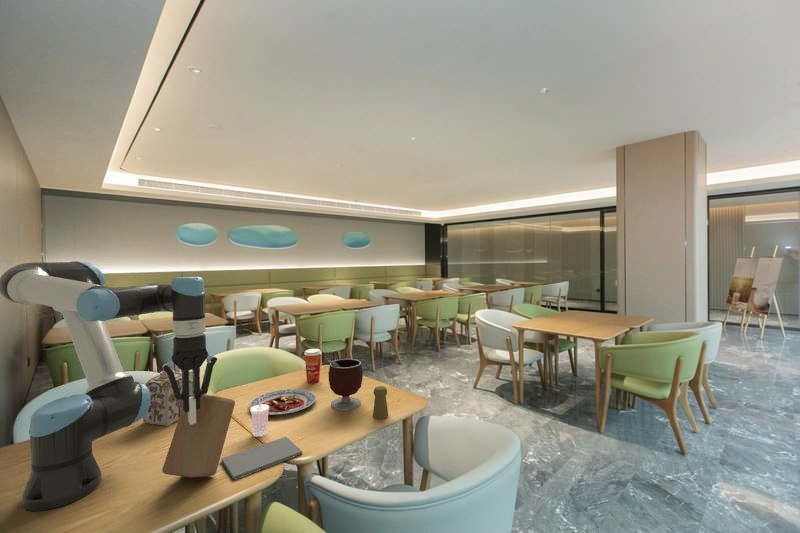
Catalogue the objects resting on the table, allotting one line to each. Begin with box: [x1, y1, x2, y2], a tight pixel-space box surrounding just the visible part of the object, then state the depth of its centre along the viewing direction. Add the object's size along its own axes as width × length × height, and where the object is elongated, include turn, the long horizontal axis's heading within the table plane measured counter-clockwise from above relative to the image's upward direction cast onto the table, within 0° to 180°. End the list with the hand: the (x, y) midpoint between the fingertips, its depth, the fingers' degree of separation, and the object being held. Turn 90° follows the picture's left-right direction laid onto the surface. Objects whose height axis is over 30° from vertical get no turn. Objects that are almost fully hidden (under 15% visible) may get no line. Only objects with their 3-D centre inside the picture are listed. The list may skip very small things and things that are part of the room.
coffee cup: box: [303, 348, 322, 384], centre depth 179 cm, size 8×8×15 cm
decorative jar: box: [142, 369, 193, 427], centre depth 138 cm, size 12×12×18 cm
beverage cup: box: [249, 392, 269, 437], centre depth 126 cm, size 6×6×14 cm
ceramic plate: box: [249, 388, 317, 416], centre depth 150 cm, size 26×26×3 cm
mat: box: [220, 436, 303, 480], centre depth 111 cm, size 20×12×1 cm, turn 130°
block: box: [161, 393, 236, 479], centre depth 103 cm, size 10×10×20 cm
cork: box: [372, 385, 389, 420], centre depth 140 cm, size 6×6×11 cm
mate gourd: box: [326, 358, 364, 411], centre depth 150 cm, size 16×14×20 cm
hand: (192, 422), depth 98 cm, fingers closed
